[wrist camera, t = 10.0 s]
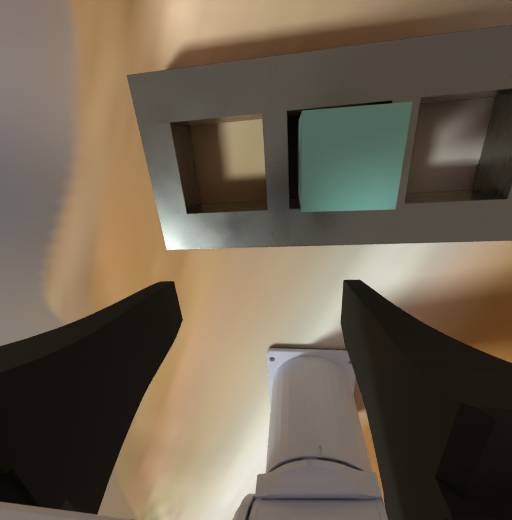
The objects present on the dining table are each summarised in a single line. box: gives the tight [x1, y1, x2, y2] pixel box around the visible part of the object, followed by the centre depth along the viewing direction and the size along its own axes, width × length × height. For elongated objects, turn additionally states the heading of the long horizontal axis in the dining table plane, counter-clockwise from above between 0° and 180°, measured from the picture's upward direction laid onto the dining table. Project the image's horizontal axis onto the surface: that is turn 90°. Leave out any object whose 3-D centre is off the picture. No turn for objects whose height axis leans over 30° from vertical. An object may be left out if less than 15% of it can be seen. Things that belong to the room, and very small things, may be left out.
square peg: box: [297, 102, 413, 212], centre depth 14 cm, size 4×4×7 cm
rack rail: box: [127, 25, 512, 250], centre depth 16 cm, size 10×22×3 cm, turn 94°
